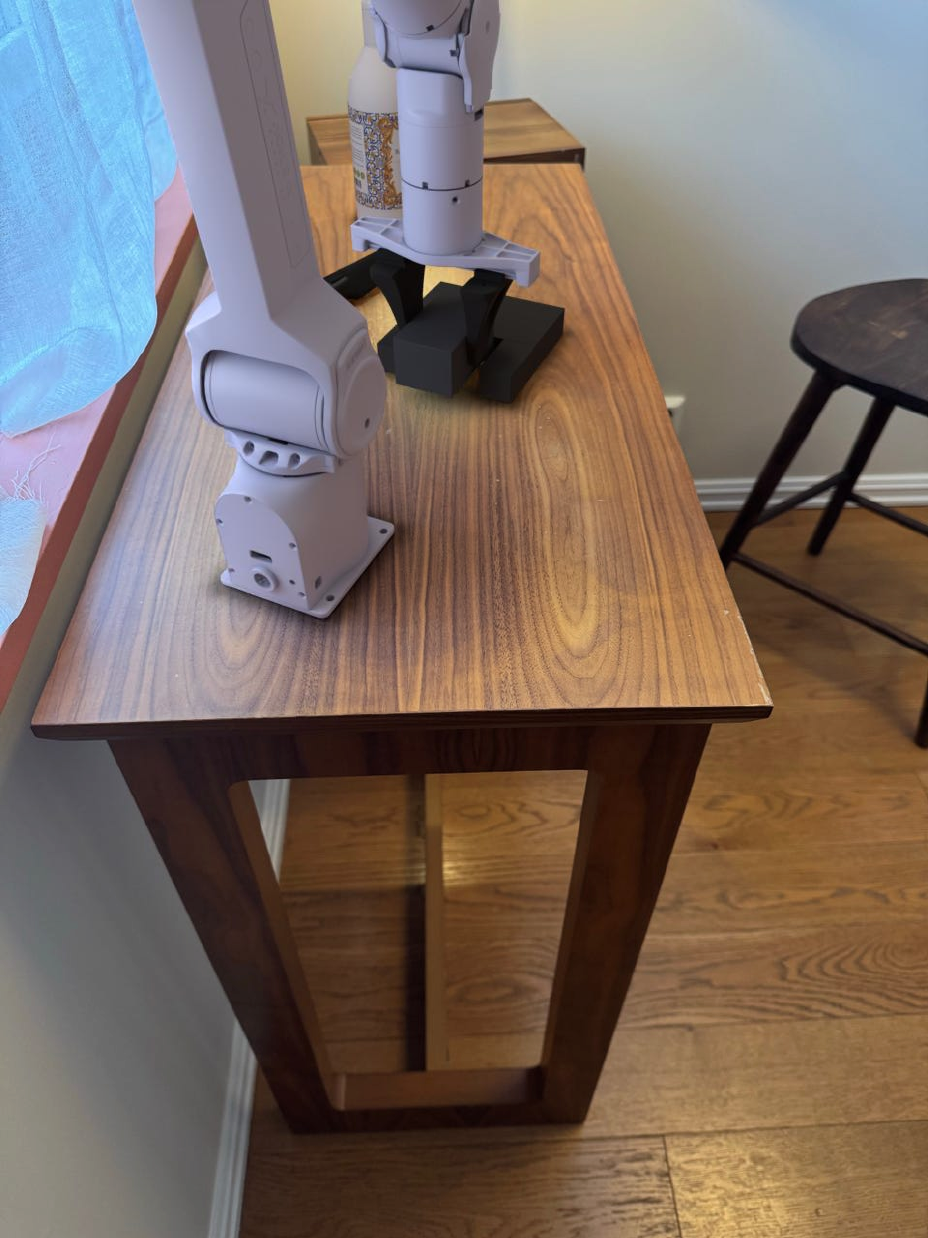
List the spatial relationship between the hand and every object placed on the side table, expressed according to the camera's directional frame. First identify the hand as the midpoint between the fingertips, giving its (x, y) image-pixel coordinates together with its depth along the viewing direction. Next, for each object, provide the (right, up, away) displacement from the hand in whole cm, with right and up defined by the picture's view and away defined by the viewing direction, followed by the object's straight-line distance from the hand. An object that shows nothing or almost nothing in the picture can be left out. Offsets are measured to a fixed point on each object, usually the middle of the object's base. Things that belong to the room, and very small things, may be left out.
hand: (445, 351), depth 73 cm
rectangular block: (0, -1, +1) cm, 1 cm away
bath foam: (-6, +21, +24) cm, 32 cm away
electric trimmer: (-10, +8, +12) cm, 17 cm away
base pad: (+2, +2, +5) cm, 6 cm away
